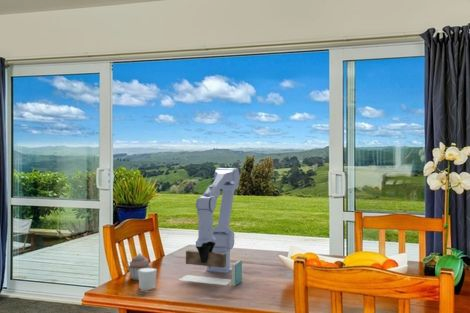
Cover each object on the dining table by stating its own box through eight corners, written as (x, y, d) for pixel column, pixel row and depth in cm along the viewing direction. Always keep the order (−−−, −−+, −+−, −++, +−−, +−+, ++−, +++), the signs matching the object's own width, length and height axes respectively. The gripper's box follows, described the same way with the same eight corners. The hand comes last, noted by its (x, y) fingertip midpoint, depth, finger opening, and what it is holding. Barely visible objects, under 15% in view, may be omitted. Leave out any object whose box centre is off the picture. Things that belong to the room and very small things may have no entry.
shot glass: (160, 286, 175) (160, 268, 175) (150, 292, 169) (150, 272, 169) (143, 285, 178) (143, 266, 178) (134, 290, 171) (134, 271, 171)
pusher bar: (185, 263, 185) (185, 251, 185) (188, 262, 188) (188, 250, 188) (223, 267, 180) (223, 254, 180) (225, 266, 182) (226, 253, 182)
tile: (231, 285, 176) (231, 264, 176) (238, 280, 183) (238, 260, 183) (235, 286, 176) (235, 264, 176) (241, 281, 182) (242, 260, 182)
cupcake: (139, 274, 194) (140, 249, 193) (156, 277, 188) (156, 252, 188) (122, 279, 186) (122, 253, 186) (138, 283, 180) (138, 257, 180)
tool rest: (177, 280, 183) (177, 279, 183) (186, 275, 191) (186, 274, 191) (225, 286, 177) (225, 285, 177) (233, 280, 184) (233, 279, 184)
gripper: (207, 230, 175) (207, 266, 176) (222, 225, 189) (221, 258, 189) (190, 229, 178) (190, 265, 178) (206, 224, 191) (205, 257, 192)
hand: (205, 261), depth 184 cm, fingers closed on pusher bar, 2 cm apart
